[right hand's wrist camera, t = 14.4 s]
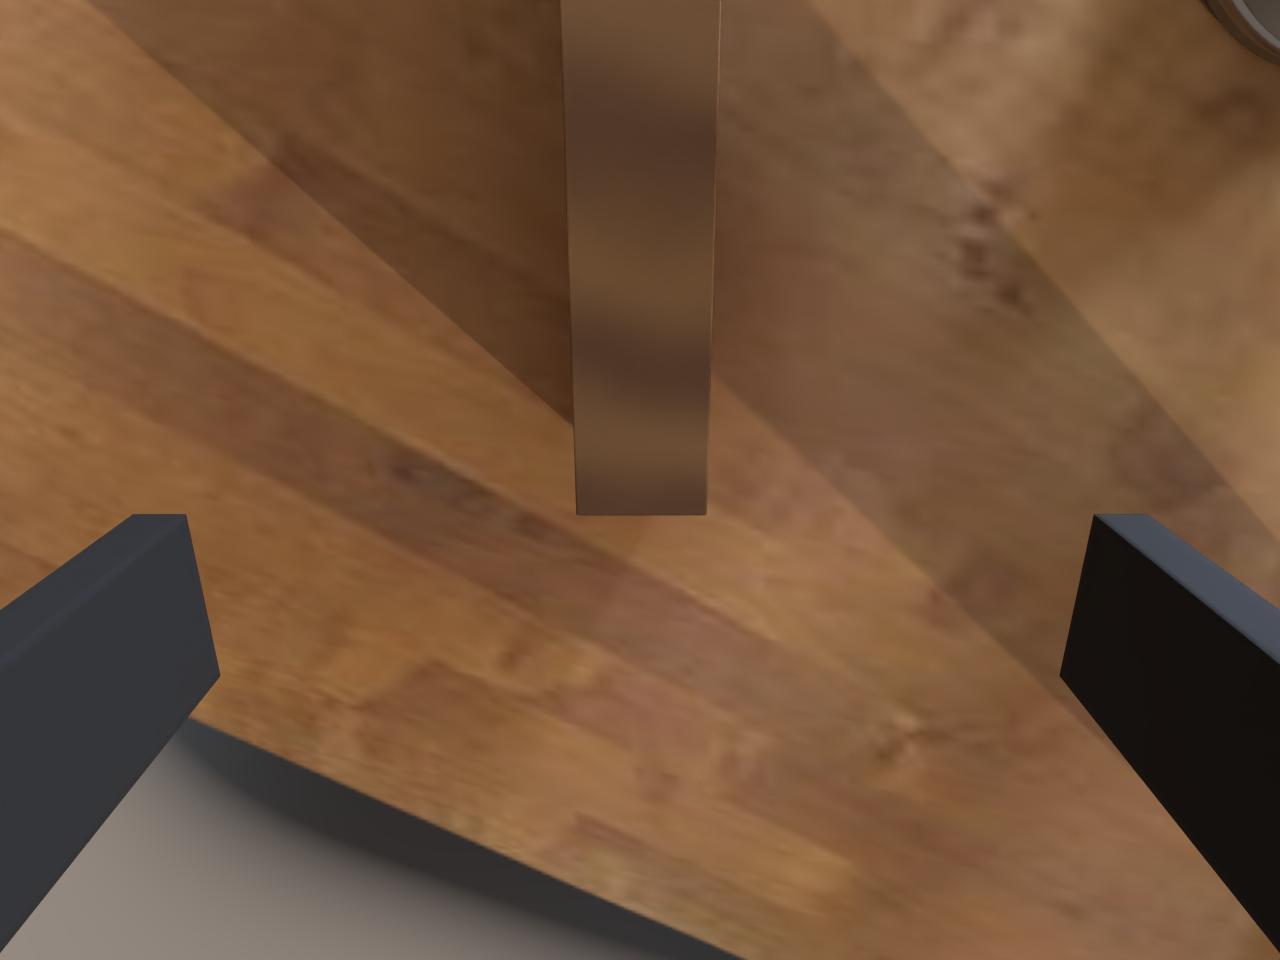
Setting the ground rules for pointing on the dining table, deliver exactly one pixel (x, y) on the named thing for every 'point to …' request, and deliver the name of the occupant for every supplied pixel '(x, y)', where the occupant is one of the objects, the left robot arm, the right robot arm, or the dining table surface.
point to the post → (641, 248)
